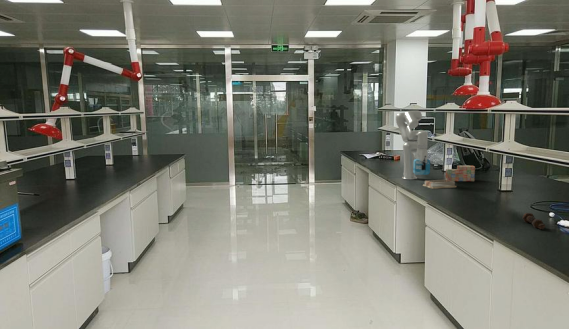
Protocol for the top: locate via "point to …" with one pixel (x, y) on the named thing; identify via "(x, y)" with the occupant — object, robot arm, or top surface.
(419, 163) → the data package
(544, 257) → the top surface
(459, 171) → the stack of blocks
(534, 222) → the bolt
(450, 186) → the cradle
